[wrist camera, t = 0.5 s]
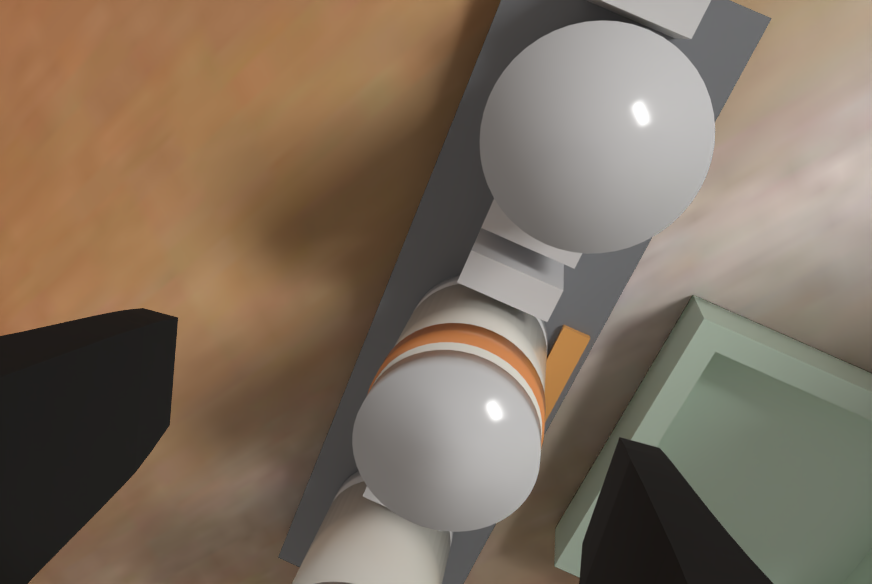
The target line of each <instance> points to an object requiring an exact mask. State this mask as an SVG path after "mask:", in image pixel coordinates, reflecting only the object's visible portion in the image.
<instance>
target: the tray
mask: <svg viewBox="0 0 872 584" xmlns="http://www.w3.org/2000/svg"><path fill="white" fill-rule="evenodd" d="M619 437H621V438H625V439H629V440H632V441H636V442H640V443H643V444H647V445H651V446H655V447H658V448H660V449H661V450H662V451H663V452H664V453H665V454H666V456H667V457H668V458H669V459H670V460H671V462H672V463H673V464H674V465H675V467H676V468H677V469H678V470H679V472H680V473H681V474H682V475H683V477H684V478H685V479H686V481H687V482H688V483H689V484H690V486H691V487H692V488H693V490H694V491H695V492H696V493H697V495H698V496H699V497H700V498H701V500H702V501H703V502H704V504H705V505H706V506H707V507H708V509H709V510H710V511H711V512H712V514H713V515H714V516H715V517H716V518H717V520H718V521H719V522H720V523H721V525H722V526H723V527H724V528H725V529H726V531H727V532H728V533H729V534H730V535H731V537H732V538H733V539H734V540H735V541H736V542H737V544H738V545H739V546H740V547H741V548H742V549H743V551H744V552H745V553H746V554H747V555H748V556H749V557H750V559H751V560H752V561H753V562H754V563H755V564H756V565H757V566H758V567H759V568H760V569H761V571H762V572H763V573H764V574H765V575H766V576H767V577H768V578H769V579H770V580H771V581H772V582H773V584H872V373H870V372H868V371H865V370H863V369H861V368H858V367H856V366H854V365H852V364H849V363H847V362H845V361H842V360H840V359H838V358H836V357H833V356H831V355H829V354H826V353H824V352H822V351H820V350H817V349H815V348H813V347H811V346H808V345H806V344H804V343H801V342H799V341H797V340H795V339H792V338H790V337H788V336H785V335H783V334H781V333H779V332H776V331H774V330H772V329H769V328H767V327H765V326H763V325H760V324H758V323H756V322H754V321H751V320H749V319H747V318H744V317H742V316H740V315H738V314H735V313H733V312H731V311H728V310H726V309H724V308H722V307H719V306H717V305H715V304H712V303H710V302H708V301H706V300H703V299H701V298H699V297H697V296H694V295H693V296H692V297H691V299H690V301H689V302H688V304H687V306H686V308H685V309H684V311H683V313H682V314H681V316H680V318H679V319H678V321H677V323H676V325H675V326H674V328H673V330H672V331H671V333H670V335H669V336H668V338H667V340H666V342H665V343H664V345H663V347H662V348H661V350H660V352H659V353H658V355H657V357H656V359H655V360H654V362H653V364H652V365H651V367H650V369H649V370H648V372H647V374H646V375H645V377H644V379H643V381H642V382H641V384H640V386H639V387H638V389H637V391H636V392H635V394H634V396H633V398H632V399H631V401H630V403H629V404H628V406H627V408H626V409H625V411H624V413H623V415H622V416H621V418H620V420H619V421H618V423H617V425H616V426H615V428H614V430H613V431H612V433H611V435H610V437H609V438H608V440H607V442H606V443H605V445H604V447H603V448H602V450H601V452H600V454H599V455H598V457H597V459H596V460H595V462H594V464H593V465H592V467H591V469H590V471H589V472H588V474H587V476H586V477H585V479H584V481H583V482H582V484H581V486H580V487H579V489H578V491H577V493H576V494H575V496H574V498H573V499H572V501H571V503H570V504H569V506H568V508H567V510H566V511H565V513H564V515H563V516H562V518H561V520H560V521H559V523H558V525H557V527H556V528H555V561H554V566H555V567H557V568H559V569H561V570H564V571H566V572H568V573H570V574H573V575H575V576H577V577H579V578H580V567H581V554H582V542H583V540H584V537H585V534H586V531H587V528H588V525H589V523H590V520H591V517H592V514H593V511H594V508H595V505H596V503H597V500H598V497H599V494H600V491H601V488H602V486H603V483H604V480H605V477H606V474H607V471H608V468H609V466H610V463H611V460H612V457H613V454H614V451H615V449H616V446H617V443H618V440H619Z"/></svg>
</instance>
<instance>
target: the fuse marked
mask: <svg viewBox="0 0 872 584" xmlns="http://www.w3.org/2000/svg"><path fill="white" fill-rule="evenodd" d="M459 277H460V275H459V276H455V277H452V278H449V279H447V280H444V281H442V282H440V283H439V284H437V285H435V286H434V287H433V288H432V289H430V290H429V291H428V292H427V293H426V294H425V295H424V296H423V297H422V299H421V300H420V302H419V303H418V304H417V306H416V308H415V310H414V312H413V313H412V315H411V317H410V319H409V321H408V322H407V324H406V326H405V328H404V330H403V331H402V333H401V335H400V337H399V339H398V341H397V342H396V344H395V346H394V348H393V349H392V350H391V351H390V352H389V354H388V355H387V357H386V358H385V360H384V361H383V363H382V365H381V367H380V369H379V370H378V372H377V374H376V376H375V377H374V379H373V381H372V383H371V385H370V388H369V391H368V394H367V396H366V398H365V400H364V402H363V404H362V406H361V408H360V410H359V411H358V413H357V417H356V420H355V423H354V428H353V434H352V446H353V454H354V458H355V462H356V465H357V468H358V470H359V473H360V475H361V477H362V479H363V480H364V482H365V484H366V485H367V487H368V488H369V489H370V491H371V492H372V493H373V495H374V496H375V497H376V498H377V499H378V500H379V501H380V502H381V503H382V504H383V505H385V506H386V507H387V508H388V509H390V510H391V511H392V512H394V513H395V514H397V515H398V516H400V517H402V518H404V519H406V520H408V521H410V522H412V523H414V524H417V525H420V526H422V527H426V528H430V529H434V530H440V531H451V532H461V531H471V530H477V529H481V528H484V527H488V526H491V525H493V524H495V523H497V522H500V521H501V520H503V519H505V518H506V517H508V516H509V515H511V514H512V513H513V512H514V511H516V510H517V509H518V508H519V507H520V506H521V505H522V504H523V502H524V501H525V500H526V499H527V497H528V496H529V494H530V493H531V491H532V489H533V487H534V485H535V482H536V480H537V476H538V472H539V466H540V455H541V447H542V443H543V438H544V428H545V411H546V404H545V394H544V393H545V377H546V361H547V346H548V340H547V330H546V326H545V322H544V320H541V319H539V318H537V317H535V316H532V315H530V314H528V313H526V312H523V311H521V310H519V309H516V308H514V307H512V306H510V305H507V304H505V303H503V302H501V301H498V300H496V299H494V298H492V297H489V296H487V295H485V294H482V293H480V292H478V291H476V290H473V289H471V288H469V287H467V286H464V285H462V284H460V283H458V282H457V281H458V279H459Z"/></svg>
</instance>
